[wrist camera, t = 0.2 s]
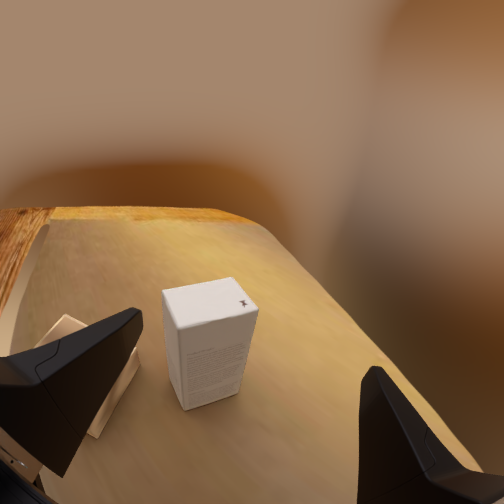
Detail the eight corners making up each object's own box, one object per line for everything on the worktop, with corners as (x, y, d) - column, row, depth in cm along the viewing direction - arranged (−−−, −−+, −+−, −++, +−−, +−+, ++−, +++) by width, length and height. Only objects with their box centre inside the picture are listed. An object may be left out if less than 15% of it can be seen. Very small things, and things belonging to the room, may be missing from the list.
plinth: (97, 439, 16) (86, 426, 15) (25, 388, 17) (12, 371, 16) (140, 364, 25) (136, 346, 23) (71, 331, 26) (64, 312, 24)
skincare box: (220, 363, 27) (234, 274, 22) (238, 394, 24) (262, 309, 19) (167, 378, 24) (159, 287, 19) (182, 412, 21) (178, 329, 16)
